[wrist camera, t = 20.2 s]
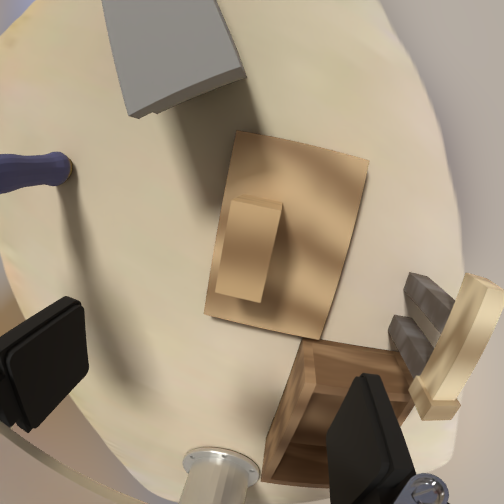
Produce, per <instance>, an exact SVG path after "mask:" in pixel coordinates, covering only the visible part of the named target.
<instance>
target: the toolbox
mask: <svg viewBox="0 0 504 504" xmlns="http://www.w3.org/2000/svg"><path fill="white" fill-rule="evenodd" d="M404 291H405V292H406V293H407V294H408V295H409V297H410V298H411V299H412V300H413V301H414V302H415V303H416V305H417V306H418V307H419V308H420V309H421V310H422V312H423V313H424V314H425V315H426V316H427V318H428V319H429V320H430V321H431V322H432V324H433V325H434V326H435V327H436V328H437V330H438V331H439V332H440V333H442V331H443V329H444V327H445V324H446V322H447V320H448V318H449V315H450V313H451V310H452V308H453V305H454V303H455V300H454V299H453V298H452V297H451V296H449V295H448V294H447V293H446V292H445V291H444V290H443V289H442V288H440V287H439V286H438V285H437V284H436V283H435V282H433V281H432V280H431V279H430V278H429V277H427V276H423V275H419V274H415V273H411V272H409V275H408V278H407V281H406V284H405V287H404ZM388 332H389V334H390V336H391V337H392V339H393V341H394V343H395V345H396V347H397V348H398V350H399V352H396V351H389V350H382V349H375V348H369V347H362V346H356V345H350V344H344V343H338V342H332V341H327V340H321V339H319V340H317V339H312V338H307V337H302V340H301V343H300V346H299V349H298V352H297V355H296V358H295V361H294V364H293V367H292V370H291V372H290V375H289V378H288V381H287V384H286V387H285V389H284V392H283V395H282V398H281V400H280V403H279V406H278V408H277V411H276V414H275V416H274V419H273V421H272V424H271V427H270V429H269V432H268V434H267V437H266V443H265V451H264V459H263V467H262V475H261V482H267V483H274V484H282V485H290V486H300V487H313V488H330V487H329V473H328V460H327V449H326V434H327V431H328V429H329V427H330V425H331V423H332V422H333V420H334V418H335V416H336V414H337V412H338V410H339V408H340V406H341V404H342V402H343V400H344V398H345V396H346V394H347V392H348V390H349V388H350V386H351V384H352V382H353V380H354V378H355V377H356V376H358V377H359V376H360V375H361V374H362V373H369V374H378V375H380V377H381V379H382V382H383V384H384V387H385V390H386V392H387V395H388V397H389V400H390V402H391V405H392V408H393V410H394V413H395V416H396V418H397V420H398V422H399V425H400V427H401V425H402V424H403V422H404V421H405V419H406V418H407V416H408V415H409V413H410V412H411V410H412V409H413V407H414V405H415V404H414V402H413V399H412V397H411V395H410V393H409V390H408V389H409V387H410V386H411V384H412V382H413V380H414V379H415V377H416V375H417V376H420V375H421V373H422V371H423V370H424V368H425V366H426V364H427V362H428V360H429V358H430V356H431V354H432V352H433V350H434V348H433V346H432V345H431V344H430V342H429V341H428V339H427V338H426V337H425V335H424V334H423V332H422V331H421V330H420V328H419V327H418V326H417V324H416V323H415V322H414V320H413V319H412V318H409V317H403V316H398V315H394V316H393V319H392V321H391V324H390V326H389V329H388ZM406 365H407V366H406Z"/></svg>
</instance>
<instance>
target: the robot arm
mask: <svg viewBox="0 0 504 504" xmlns="http://www.w3.org/2000/svg"><path fill="white" fill-rule="evenodd" d="M88 370H89V363H88V354H87V344H86V331H85V316H84V308H83V307H82V306H81V303H80V301H78V300H76V299H73V298H71V297H68V296H65V297H63V298H61V299H59V300H58V301H56V302H54V303H53V304H51V305H49V306H48V307H46V308H45V309H43V310H41V311H40V312H38V313H37V314H35V315H33V316H32V317H30V318H29V319H27V320H25V321H24V322H22V323H21V324H19V325H18V326H16V327H15V328H13V329H11V330H10V331H8V332H7V333H5V334H4V335H2V336H1V337H0V504H148V503H146V502H143V501H140V500H138V499H135V498H133V497H130V496H128V495H125V494H123V493H121V492H118V491H116V490H114V489H111V488H109V487H107V486H105V485H102V484H100V483H99V482H96V481H94V480H92V479H90V478H88V477H87V476H85V475H82V474H81V473H79V472H77V471H75V470H73V469H71V468H70V467H68V466H66V465H64V464H63V463H61V462H59V461H58V460H56V459H54V458H53V457H51V456H49V455H48V454H46V453H45V452H43V451H42V450H40V449H39V448H37V447H35V446H34V445H32V444H31V443H30V442H28V441H27V440H25V439H24V438H23V437H21V436H20V435H18V434H17V433H16V432H14V431H13V425H14V423H16V424H17V425H18V426H19V427H20V428H21V429H23V430H25V431H26V432H27V433H29V432H30V431H31V430H32V429H33V428H37V427H38V426H39V425H40V424H41V423H42V422H43V421H44V420H45V419H46V417H47V416H48V415H49V414H50V413H51V412H52V411H53V410H54V409H55V408H56V407H57V405H58V404H59V403H60V402H61V401H62V400H63V399H64V398H65V397H66V396H67V395H68V394H69V393H70V392H71V390H72V389H73V388H74V387H75V386H76V385H77V384H78V383H79V382H80V381H81V380H82V379H83V378H84V377H85V376H86V374H87V373H88ZM326 449H327V460H328V473H329V487H330V502H331V504H449V503H448V498H449V492H448V488H447V486H446V484H445V483H444V482H443V481H442V480H441V479H440V478H439V477H437V476H435V475H432V474H428V473H421V474H417V475H416V472H415V469H414V466H413V463H412V460H411V457H410V454H409V451H408V448H407V445H406V442H405V439H404V436H403V434H402V431H401V428H400V425H399V422H398V420H397V418H396V416H395V413H394V410H393V408H392V405H391V402H390V400H389V397H388V395H387V392H386V390H385V387H384V384H383V382H382V379H381V377H380V375H378V374H369V373H362V374H361V375H360V376H359V377H358V376H356V377H355V378H354V380H353V382H352V384H351V386H350V388H349V390H348V392H347V394H346V396H345V398H344V400H343V402H342V404H341V406H340V408H339V410H338V412H337V414H336V416H335V418H334V420H333V422H332V423H331V425H330V427H329V429H328V431H327V434H326ZM183 467H184V469H185V471H186V472H187V473H188V477H187V480H186V483H185V486H184V489H183V491H182V494H181V497H180V500H179V503H178V504H244V503H245V498H246V492H247V487H250V486H252V485H254V484H255V483H256V482H257V481H258V478H259V469H258V467H257V465H256V464H255V463H254V462H253V461H252V460H250V459H249V458H247V457H246V456H244V455H241V454H239V453H237V452H234V451H231V450H227V449H222V448H214V447H202V448H196V449H193V450H191V451H189V452H187V453H186V455H185V456H184V459H183Z"/></svg>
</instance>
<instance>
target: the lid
mask: <svg viewBox="0 0 504 504" xmlns="http://www.w3.org/2000/svg"><path fill="white" fill-rule="evenodd" d="M368 165H369V161H368V160H365V159H362V158H358V157H355V156H351V155H347V154H344V153H340V152H336V151H332V150H329V149H325V148H321V147H316V146H312V145H308V144H304V143H299V142H295V141H290V140H286V139H281V138H276V137H271V136H266V135H261V134H255V133H250V132H244V131H238V130H237V131H236V136H235V140H234V145H233V150H232V155H231V160H230V165H229V170H228V175H227V181H226V186H225V191H224V196H223V202H222V207H221V213H220V218H219V224H218V229H217V235H216V241H215V247H214V253H213V259H212V265H211V271H210V277H209V283H208V289H207V296H206V302H205V309H204V314H206V315H209V316H213V317H217V318H221V319H225V320H229V321H234V322H238V323H242V324H246V325H250V326H255V327H259V328H264V329H268V330H273V331H277V332H282V333H287V334H292V335H297V336H302V337H307V338H312V339H317V340H319V339H320V336H321V333H322V330H323V328H324V325H325V322H326V319H327V316H328V313H329V310H330V307H331V304H332V301H333V297H334V294H335V291H336V288H337V285H338V281H339V278H340V275H341V272H342V268H343V265H344V261H345V258H346V254H347V251H348V247H349V244H350V240H351V236H352V232H353V229H354V225H355V221H356V217H357V213H358V209H359V205H360V201H361V197H362V192H363V188H364V184H365V179H366V175H367V170H368Z"/></svg>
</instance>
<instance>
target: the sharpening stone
mask: <svg viewBox="0 0 504 504" xmlns="http://www.w3.org/2000/svg"><path fill="white" fill-rule="evenodd" d="M102 6H103V11H104V16H105V21H106V26H107V31H108V36H109V41H110V45H111V50H112V54H113V58H114V63H115V67H116V71H117V75H118V79H119V83H120V87H121V91H122V95H123V98H124V102H125V106H126V109H127V113H128V116H131V117H134V118H137V119H140V118H142V117H144V116H146V115H148V114H150V113H152V112H153V113H156V114H158V113H160V112H162V111H165V110H167V109H169V108H171V107H173V106H175V105H178V104H180V103H182V102H184V101H187V100H189V99H191V98H194V97H196V96H199V95H201V94H204V93H206V92H209V91H211V90H214V89H216V88H219V87H221V86H224V85H227V84H230V83H232V82H235V81H238V80H241V79H244V78H247V76H246V73H245V71H244V68H243V65H242V62H241V59H240V57H239V54H238V51H237V48H236V46H235V43H234V41H233V39H232V36H231V34H230V31H229V29H228V27H227V24H226V22H225V20H224V17H223V15H222V13H221V10H220V8H219V6H218V3H217V1H216V0H102Z"/></svg>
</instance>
